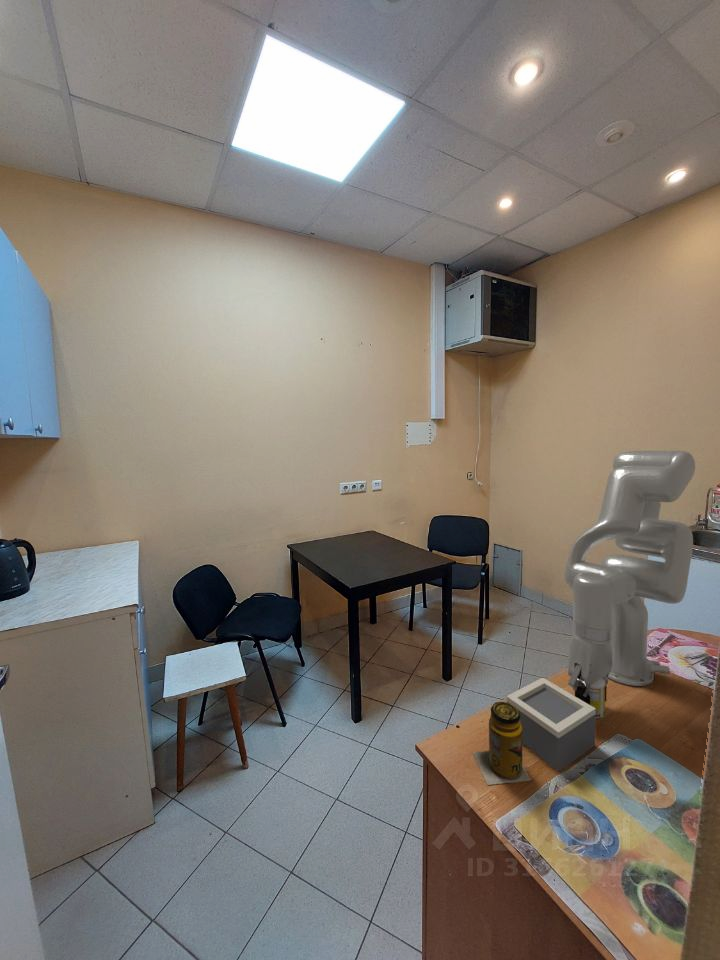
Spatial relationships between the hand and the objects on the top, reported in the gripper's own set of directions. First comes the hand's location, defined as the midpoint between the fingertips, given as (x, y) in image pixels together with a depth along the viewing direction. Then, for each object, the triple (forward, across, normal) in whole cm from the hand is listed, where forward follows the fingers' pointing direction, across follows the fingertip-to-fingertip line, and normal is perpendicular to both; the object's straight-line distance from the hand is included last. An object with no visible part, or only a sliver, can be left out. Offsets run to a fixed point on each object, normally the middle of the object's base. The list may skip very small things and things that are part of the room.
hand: (590, 702), depth 87 cm
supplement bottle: (+2, 0, 0) cm, 2 cm away
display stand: (+2, +15, 0) cm, 15 cm away
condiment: (+2, +29, 0) cm, 29 cm away
